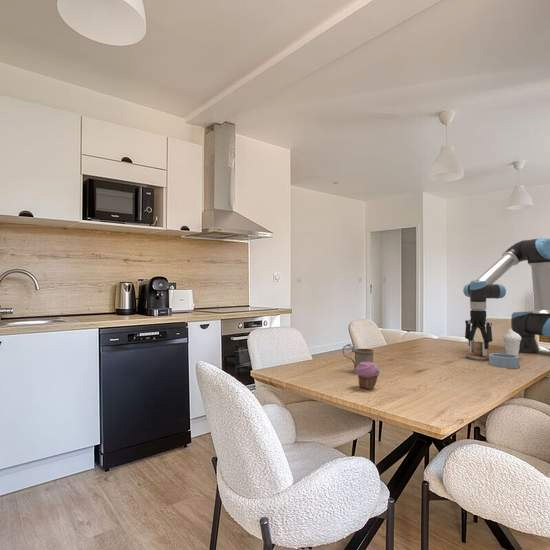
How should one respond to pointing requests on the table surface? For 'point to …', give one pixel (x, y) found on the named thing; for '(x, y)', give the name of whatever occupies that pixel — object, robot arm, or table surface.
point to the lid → (478, 353)
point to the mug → (360, 356)
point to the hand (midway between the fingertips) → (478, 354)
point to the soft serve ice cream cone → (512, 342)
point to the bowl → (504, 360)
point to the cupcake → (367, 374)
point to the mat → (473, 360)
